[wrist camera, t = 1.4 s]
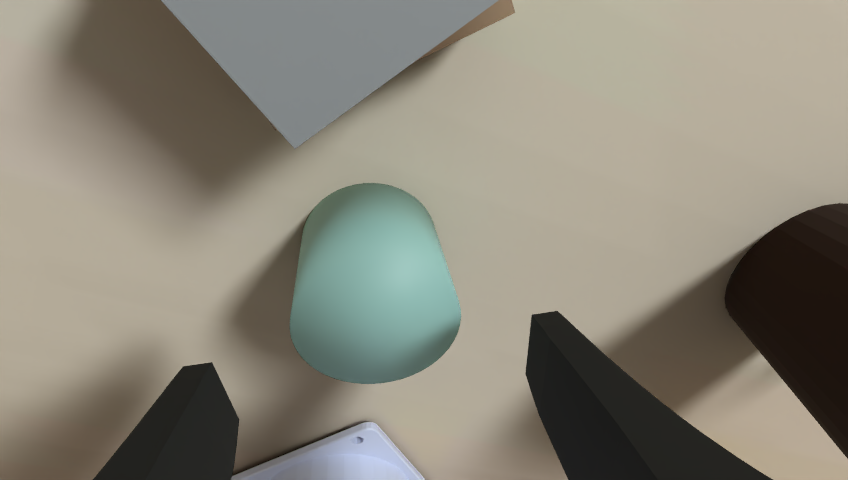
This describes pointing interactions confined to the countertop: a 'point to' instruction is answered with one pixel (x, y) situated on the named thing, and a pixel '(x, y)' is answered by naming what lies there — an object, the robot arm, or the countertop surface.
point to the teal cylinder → (372, 287)
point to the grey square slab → (318, 49)
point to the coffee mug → (801, 310)
